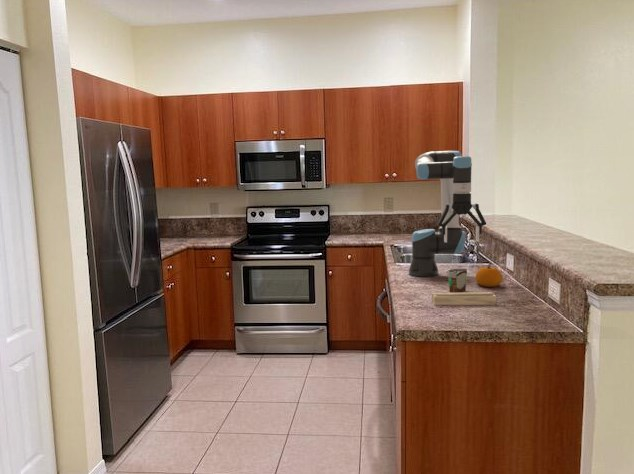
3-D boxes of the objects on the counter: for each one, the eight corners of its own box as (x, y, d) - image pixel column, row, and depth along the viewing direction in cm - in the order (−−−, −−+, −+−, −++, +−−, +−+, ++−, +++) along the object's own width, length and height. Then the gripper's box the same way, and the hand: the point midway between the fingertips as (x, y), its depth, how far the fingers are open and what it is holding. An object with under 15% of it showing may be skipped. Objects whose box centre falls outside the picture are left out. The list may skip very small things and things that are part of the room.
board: (431, 301, 198) (431, 291, 197) (491, 300, 196) (491, 291, 195) (434, 304, 192) (434, 295, 191) (495, 304, 190) (495, 294, 189)
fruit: (504, 284, 224) (505, 263, 222) (498, 289, 214) (499, 267, 213) (479, 281, 230) (479, 261, 229) (472, 286, 220) (472, 265, 219)
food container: (453, 289, 217) (454, 267, 216) (467, 290, 213) (467, 268, 212) (442, 294, 208) (442, 272, 207) (455, 296, 204) (455, 273, 203)
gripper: (434, 194, 203) (433, 243, 206) (494, 192, 201) (493, 242, 204) (431, 193, 210) (430, 241, 213) (489, 191, 208) (488, 239, 211)
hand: (461, 241), depth 209 cm, fingers open, 13 cm apart
